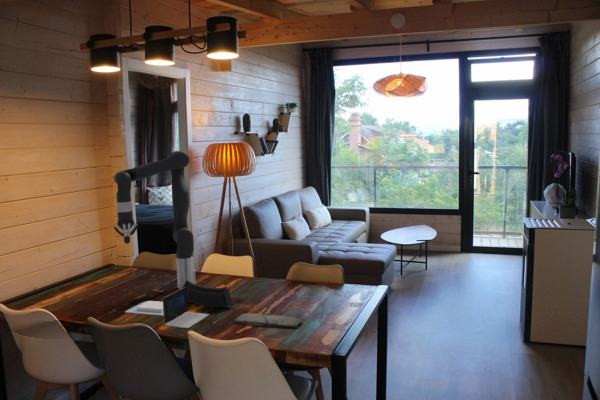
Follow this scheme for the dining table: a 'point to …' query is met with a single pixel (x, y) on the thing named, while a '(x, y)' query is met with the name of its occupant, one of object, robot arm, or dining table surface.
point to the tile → (151, 306)
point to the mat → (134, 310)
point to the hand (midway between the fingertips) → (127, 243)
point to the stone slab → (268, 321)
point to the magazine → (207, 295)
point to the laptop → (179, 311)
